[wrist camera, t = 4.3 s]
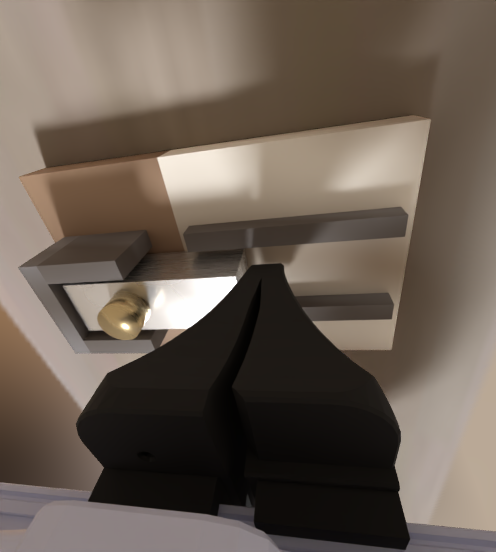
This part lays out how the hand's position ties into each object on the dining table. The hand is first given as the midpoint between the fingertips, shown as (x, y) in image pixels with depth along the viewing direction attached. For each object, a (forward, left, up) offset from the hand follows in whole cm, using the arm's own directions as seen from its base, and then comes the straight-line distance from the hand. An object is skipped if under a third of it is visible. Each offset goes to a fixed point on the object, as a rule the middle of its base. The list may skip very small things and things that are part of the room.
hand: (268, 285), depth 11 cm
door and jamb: (0, +2, -3) cm, 3 cm away
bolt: (0, +5, -1) cm, 5 cm away
